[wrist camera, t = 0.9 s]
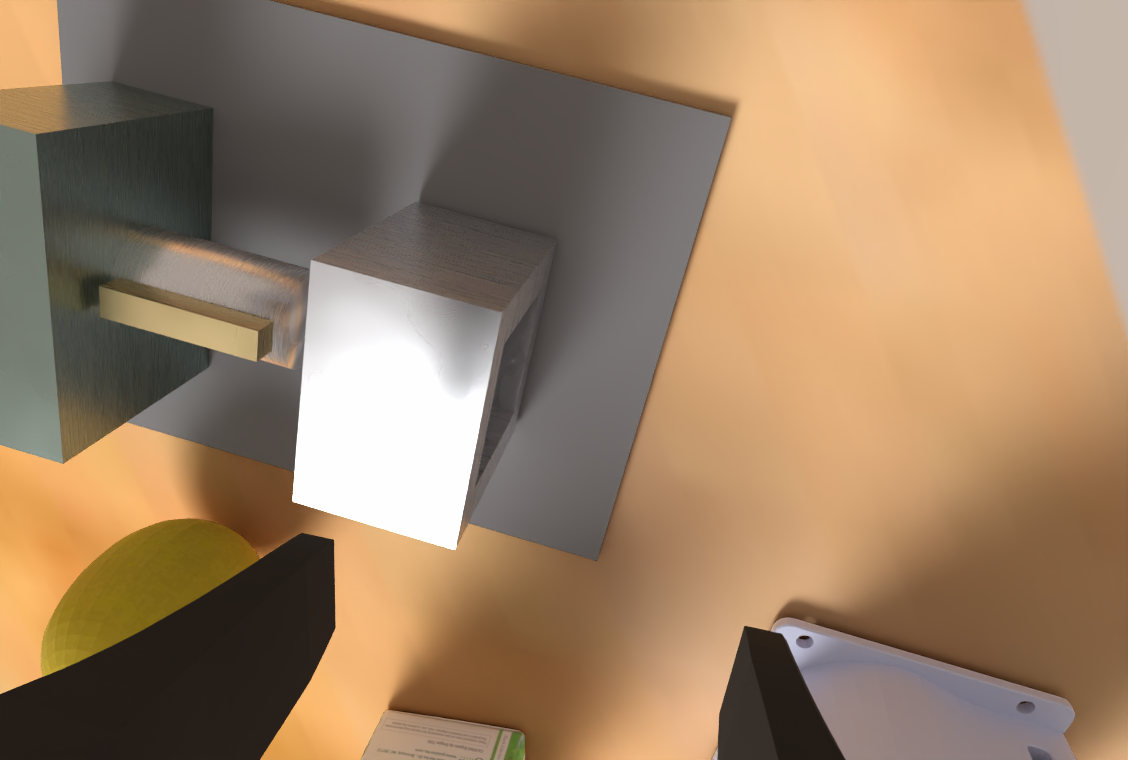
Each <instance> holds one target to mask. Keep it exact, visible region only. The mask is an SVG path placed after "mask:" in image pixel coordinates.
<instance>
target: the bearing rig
mask: <svg viewBox="0 0 1128 760" xmlns="http://www.w3.org/2000/svg"><path fill="white" fill-rule="evenodd" d="M212 169H213V108H211V107H208V106H204V105H200V104H196V103H193V102H189V101H185V100H181V99H177V98H174V97H170V96H166V95H162V94H159V93H155V92H151V91H147V90H143V89H140V88H136V87H132V86H128V85H125V84H121V83H117V82H113V81H106V82H93V83H80V84H67V85H54V86H41V87H28V88H15V89H2V90H0V445H3V446H6V447H9V448H12V449H16V450H19V451H22V452H26V453H29V454H32V455H36V456H39V457H42V458H46V459H49V460H52V461H56V462H59V463H62V464H64V463H65V462H67V461H68V460H70V459H71V458H73V457H74V456H76V455H77V454H79V453H80V452H82V451H83V450H85V449H86V448H88V447H89V446H91V445H92V444H94V443H95V442H97V441H98V440H100V439H101V438H103V437H104V436H106V435H107V434H109V433H110V432H112V431H113V430H115V429H116V428H118V427H120V426H121V425H123V424H124V423H126V422H127V421H129V420H130V419H132V418H133V417H135V416H136V415H138V414H139V413H141V412H142V411H144V410H145V409H147V408H148V407H150V406H151V405H153V404H154V403H156V402H157V401H159V400H160V399H162V398H163V397H165V396H166V395H168V394H169V393H171V392H172V391H174V390H176V389H177V388H179V387H180V386H182V385H183V384H185V383H186V382H188V381H189V380H191V379H192V378H194V377H195V376H197V375H198V374H200V373H201V372H203V371H204V370H206V369H207V368H209V354H210V349H213V350H217V351H220V352H224V353H227V354H231V355H234V356H238V357H241V358H245V359H248V360H252V361H255V362H257V361H259V360H262V361H265V362H269V363H272V364H276V365H279V366H283V367H286V368H290V369H294V370H296V369H300V368H302V367H303V357H304V344H305V331H306V318H307V304H308V291H309V278H310V269H308V268H305V267H301V266H298V265H294V264H290V263H287V262H283V261H279V260H276V259H272V258H269V257H265V256H261V255H258V254H254V253H251V252H247V251H243V250H240V249H236V248H233V247H229V246H225V245H222V244H218V243H214V242H211V231H212Z"/></svg>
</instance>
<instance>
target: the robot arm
mask: <svg viewBox="0 0 1128 760" xmlns="http://www.w3.org/2000/svg"><path fill="white" fill-rule="evenodd" d="M334 630H335V575H334V540H333V539H328V538H323V537H318V536H314V535H309V534H304V533H301V534H299V535H297V536H296V537H294V538H292V539H291V540H289V541H288V542H286V543H284V544H283V545H281V546H280V547H278V548H277V549H275V550H274V551H272V552H271V553H269V554H267V555H266V556H264V557H263V558H261V559H260V560H258V561H257V562H255V563H253V564H252V565H250V566H249V567H247V568H246V569H244V570H243V571H241V572H239V573H238V574H236V575H235V576H233V577H232V578H230V579H228V580H227V581H225V582H224V583H222V584H220V585H219V586H217V587H216V588H214V589H212V590H211V591H209V592H208V593H206V594H204V595H203V596H201V597H199V598H198V599H196V600H195V601H193V602H191V603H189V604H187V605H186V606H184V607H182V608H180V609H179V610H177V611H175V612H173V613H172V614H170V615H168V616H166V617H165V618H163V619H161V620H159V621H158V622H156V623H154V624H152V625H151V626H149V627H147V628H145V629H143V630H142V631H140V632H138V633H136V634H134V635H132V636H130V637H128V638H126V639H124V640H122V641H120V642H118V643H116V644H114V645H112V646H111V647H108V648H106V649H104V650H102V651H100V652H98V653H96V654H94V655H92V656H89V657H87V658H85V659H83V660H81V661H79V662H77V663H74V664H72V665H70V666H68V667H66V668H63V669H61V670H58V671H56V672H54V673H51V674H49V675H46V676H44V677H41V678H39V679H36V680H34V681H32V682H29V683H27V684H24V685H22V686H19V687H17V688H14V689H12V690H9V691H7V692H5V693H2V694H0V760H260V759H261V757H262V755H263V754H264V752H265V751H266V749H267V748H268V746H269V745H270V743H271V742H272V740H273V738H274V737H275V735H276V734H277V732H278V731H279V729H280V728H281V726H282V725H283V723H284V721H285V720H286V718H287V717H288V715H289V714H290V712H291V710H292V709H293V707H294V706H295V704H296V703H297V701H298V699H299V698H300V696H301V695H302V693H303V691H304V690H305V688H306V687H307V685H308V683H309V682H310V680H311V678H312V676H313V674H314V672H315V670H316V668H317V666H318V664H319V662H320V660H321V658H322V656H323V654H324V652H325V649H326V647H327V645H328V643H329V641H330V639H331V637H332V634H333V632H334ZM803 635H805V636H809V637H810V638H808V639H805V640H804V639H799V638H798V637H800V636H803ZM1023 701H1028V702H1027V703H1024V704H1019V703H1020V702H1023ZM1074 718H1075V711H1074V710H1073V708H1072V706H1071V704H1070V703H1069V702H1068V701H1067V700H1066V699H1064V698H1062V697H1059V696H1056V695H1052V694H1049V693H1045V692H1042V691H1039V690H1035V689H1032V688H1029V687H1025V686H1022V685H1018V684H1015V683H1012V682H1008V681H1005V680H1001V679H998V678H995V677H991V676H988V675H984V674H981V673H978V672H974V671H971V670H968V669H964V668H961V667H957V666H954V665H951V664H947V663H944V662H940V661H937V660H934V659H930V658H927V657H924V656H920V655H917V654H913V653H910V652H907V651H903V650H900V649H896V648H893V647H890V646H886V645H883V644H880V643H876V642H873V641H869V640H866V639H863V638H859V637H856V636H852V635H849V634H846V633H842V632H839V631H835V630H832V629H829V628H825V627H822V626H819V625H815V624H812V623H808V622H805V621H802V620H798V619H795V618H789V617H786V618H781V619H779V620H777V621H776V622H775V623H774V625H773V626H772V629H771V631H767V630H762V629H757V628H752V627H748V626H744V630H743V633H742V637H741V640H740V644H739V647H738V651H737V654H736V658H735V661H734V665H733V668H732V672H731V675H730V679H729V682H728V686H727V689H726V693H725V696H724V700H723V703H722V706H721V710H720V713H719V733H718V747H717V749H716V752H715V754H714V756H713V758H712V760H1076V758H1075V756H1074V754H1073V752H1072V750H1071V748H1070V746H1069V744H1068V742H1067V740H1066V738H1065V736H1064V733H1065V731H1066V730H1067V729H1068V727H1069V726H1070V725H1071V723H1072V722H1073V721H1074Z"/></svg>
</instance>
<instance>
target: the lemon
mask: <svg viewBox="0 0 1128 760" xmlns="http://www.w3.org/2000/svg"><path fill="white" fill-rule="evenodd" d="M258 560H260V558H259V556H258V554H257V553H256V551H255V550H254V549H253V548H252V546H251V545H250V544H249V543H248V542H247V541H246V540H245V539H244V538H243V537H242V536H240V535H239V534H238V533H236V532H234V531H233V530H231V529H230V528H228V527H225V526H223V525H220V524H217V523H215V522H212V521H206V520H200V519H176V520H168V521H163V522H160V523H156V524H154V525H151V526H148V527H145V528H143V529H140V530H138V531H136V532H134V533H131V534H130V535H128V536H126V537H124V538H123V539H121V540H120V541H118V542H117V543H115V544H114V545H112V546H111V547H110V548H109V549H108V550H106V551H105V552H104V553H103V554H101V555H100V556H99V557H98V558H97V559H96V560H94V561H93V562H92V563H91V564H90V565H89V566H88V567H87V568H86V569H85V570H84V571H83V572H82V573H81V574H80V575H79V576H78V578H77V579H76V580H75V581H74V582H73V584H72V585H71V586H70V588H69V589H68V590H67V592H66V593H65V595H64V596H63V598H62V599H61V601H60V603H59V604H58V606H57V608H56V609H55V611H54V613H53V615H52V617H51V619H50V621H49V623H48V625H47V628H46V630H45V633H44V637H43V641H42V648H41V670H42V675H43V677H44V676H46V675H49V674H51V673H54V672H56V671H58V670H61V669H63V668H66V667H68V666H70V665H72V664H74V663H77V662H79V661H81V660H83V659H85V658H87V657H89V656H92V655H94V654H96V653H98V652H100V651H102V650H104V649H106V648H108V647H111V646H112V645H114V644H116V643H118V642H120V641H122V640H124V639H126V638H128V637H130V636H132V635H134V634H136V633H138V632H140V631H142V630H143V629H145V628H147V627H149V626H151V625H152V624H154V623H156V622H158V621H159V620H161V619H163V618H165V617H166V616H168V615H170V614H172V613H173V612H175V611H177V610H179V609H180V608H182V607H184V606H186V605H187V604H189V603H191V602H193V601H195V600H196V599H198V598H199V597H201V596H203V595H204V594H206V593H208V592H209V591H211V590H212V589H214V588H216V587H217V586H219V585H220V584H222V583H224V582H225V581H227V580H228V579H230V578H232V577H233V576H235V575H236V574H238V573H239V572H241V571H243V570H244V569H246V568H247V567H249V566H250V565H252V564H253V563H255V562H257V561H258Z"/></svg>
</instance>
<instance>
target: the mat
mask: <svg viewBox="0 0 1128 760" xmlns="http://www.w3.org/2000/svg"><path fill="white" fill-rule="evenodd" d="M57 7H58V22H59V37H60V52H61V67H62V83H63V85H67V84H80V83H93V82H106V81H113V82H117V83H121V84H125V85H128V86H132V87H136V88H140V89H143V90H147V91H151V92H155V93H159V94H162V95H166V96H170V97H174V98H177V99H181V100H185V101H189V102H193V103H196V104H200V105H204V106H208V107H211V108H213V169H212V231H211V242H214V243H218V244H222V245H225V246H229V247H233V248H236V249H240V250H243V251H247V252H251V253H254V254H258V255H261V256H265V257H269V258H272V259H276V260H279V261H283V262H287V263H290V264H294V265H298V266H301V267H305V268H308V269H310V265H311V260H312V259H314V258H315V257H317V256H319V255H321V254H322V253H324V252H326V251H328V250H330V249H331V248H333V247H335V246H337V245H339V244H340V243H342V242H344V241H346V240H347V239H349V238H351V237H353V236H355V235H356V234H358V233H360V232H362V231H363V230H365V229H367V228H369V227H371V226H372V225H374V224H376V223H378V222H380V221H381V220H383V219H385V218H387V217H388V216H390V215H392V214H394V213H396V212H397V211H399V210H401V209H403V208H404V207H406V206H408V205H410V204H412V203H413V202H419V203H423V204H427V205H430V206H434V207H438V208H442V209H445V210H449V211H453V212H456V213H460V214H464V215H468V216H471V217H475V218H479V219H483V220H486V221H490V222H494V223H497V224H501V225H505V226H509V227H512V228H516V229H520V230H524V231H527V232H531V233H535V234H538V235H542V236H546V237H550V238H553V239H557V243H556V248H555V252H554V257H553V261H552V266H551V270H550V275H549V279H548V284H547V288H546V293H545V297H544V302H543V306H542V311H541V315H540V320H539V324H538V329H537V333H536V338H535V342H534V347H533V351H532V356H531V360H530V365H529V369H528V374H527V378H526V383H525V387H524V392H523V396H522V401H521V405H520V410H519V414H518V419H517V423H516V428H515V431H514V433H513V435H512V437H511V439H510V441H509V443H508V445H507V447H506V449H505V451H504V453H503V455H502V457H501V459H500V461H499V463H498V465H497V467H496V469H495V471H494V473H493V475H492V477H491V479H490V481H489V483H488V485H487V487H486V489H485V491H484V493H483V495H482V497H481V499H480V501H479V503H478V505H477V507H476V509H475V511H474V513H473V515H472V517H471V519H470V521H469V523H470V524H473V525H477V526H480V527H483V528H487V529H490V530H493V531H497V532H500V533H504V534H507V535H510V536H514V537H517V538H521V539H524V540H527V541H531V542H534V543H537V544H541V545H544V546H548V547H551V548H554V549H558V550H561V551H565V552H568V553H571V554H575V555H578V556H581V557H585V558H588V559H592V560H595V561H597V559H598V555H599V552H600V549H601V546H602V542H603V539H604V536H605V532H606V529H607V526H608V523H609V519H610V516H611V513H612V509H613V506H614V503H615V500H616V496H617V493H618V490H619V486H620V483H621V480H622V477H623V473H624V470H625V467H626V463H627V460H628V457H629V454H630V450H631V447H632V444H633V440H634V437H635V434H636V431H637V427H638V424H639V421H640V417H641V414H642V411H643V408H644V404H645V401H646V398H647V394H648V391H649V388H650V385H651V381H652V378H653V375H654V371H655V368H656V365H657V362H658V358H659V355H660V352H661V348H662V345H663V342H664V339H665V335H666V332H667V329H668V325H669V322H670V319H671V316H672V312H673V309H674V306H675V302H676V299H677V296H678V293H679V289H680V286H681V283H682V279H683V276H684V273H685V270H686V266H687V263H688V260H689V256H690V253H691V250H692V247H693V243H694V240H695V237H696V233H697V230H698V227H699V224H700V220H701V217H702V214H703V210H704V207H705V204H706V201H707V197H708V194H709V191H710V187H711V184H712V181H713V178H714V174H715V171H716V168H717V164H718V161H719V158H720V154H721V151H722V148H723V145H724V141H725V138H726V135H727V131H728V128H729V125H730V122H731V117H730V116H726V115H722V114H718V113H714V112H710V111H706V110H702V109H698V108H694V107H690V106H687V105H683V104H679V103H675V102H671V101H667V100H663V99H659V98H655V97H651V96H647V95H643V94H639V93H635V92H631V91H627V90H623V89H620V88H616V87H612V86H608V85H604V84H600V83H596V82H592V81H588V80H584V79H580V78H576V77H572V76H568V75H564V74H560V73H556V72H553V71H549V70H545V69H541V68H537V67H533V66H529V65H525V64H521V63H517V62H513V61H509V60H505V59H501V58H497V57H493V56H489V55H486V54H482V53H478V52H474V51H470V50H466V49H462V48H458V47H454V46H450V45H446V44H442V43H438V42H434V41H430V40H426V39H422V38H419V37H415V36H411V35H407V34H403V33H399V32H395V31H391V30H387V29H383V28H379V27H375V26H371V25H367V24H363V23H359V22H355V21H352V20H348V19H344V18H340V17H336V16H332V15H328V14H324V13H320V12H316V11H312V10H308V9H304V8H300V7H296V6H292V5H288V4H285V3H281V2H277V1H273V0H57ZM302 370H303V367H302V368H300V369H296V370H294V369H290V368H286V367H283V366H279V365H276V364H272V363H269V362H265V361H262V360H259V361H257V362H255V361H252V360H248V359H245V358H241V357H238V356H234V355H231V354H227V353H224V352H220V351H217V350H213V349H210V354H209V368H207V369H206V370H204V371H203V372H201V373H200V374H198V375H197V376H195V377H194V378H192V379H191V380H189V381H188V382H186V383H185V384H183V385H182V386H180V387H179V388H177V389H176V390H174V391H172V392H171V393H169V394H168V395H166V396H165V397H163V398H162V399H160V400H159V401H157V402H156V403H154V404H153V405H151V406H150V407H148V408H147V409H145V410H144V411H142V412H141V413H139V414H138V415H136V416H135V417H133V418H132V419H130V420H129V421H127V422H128V423H131V424H135V425H138V426H141V427H145V428H148V429H152V430H155V431H158V432H162V433H165V434H168V435H172V436H175V437H179V438H182V439H185V440H189V441H192V442H196V443H199V444H202V445H206V446H209V447H212V448H216V449H219V450H223V451H226V452H229V453H233V454H236V455H240V456H243V457H246V458H250V459H253V460H256V461H260V462H263V463H267V464H270V465H273V466H277V467H280V468H284V469H287V470H290V471H294V472H295V461H296V448H297V435H298V422H299V409H300V396H301V383H302Z"/></svg>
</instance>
